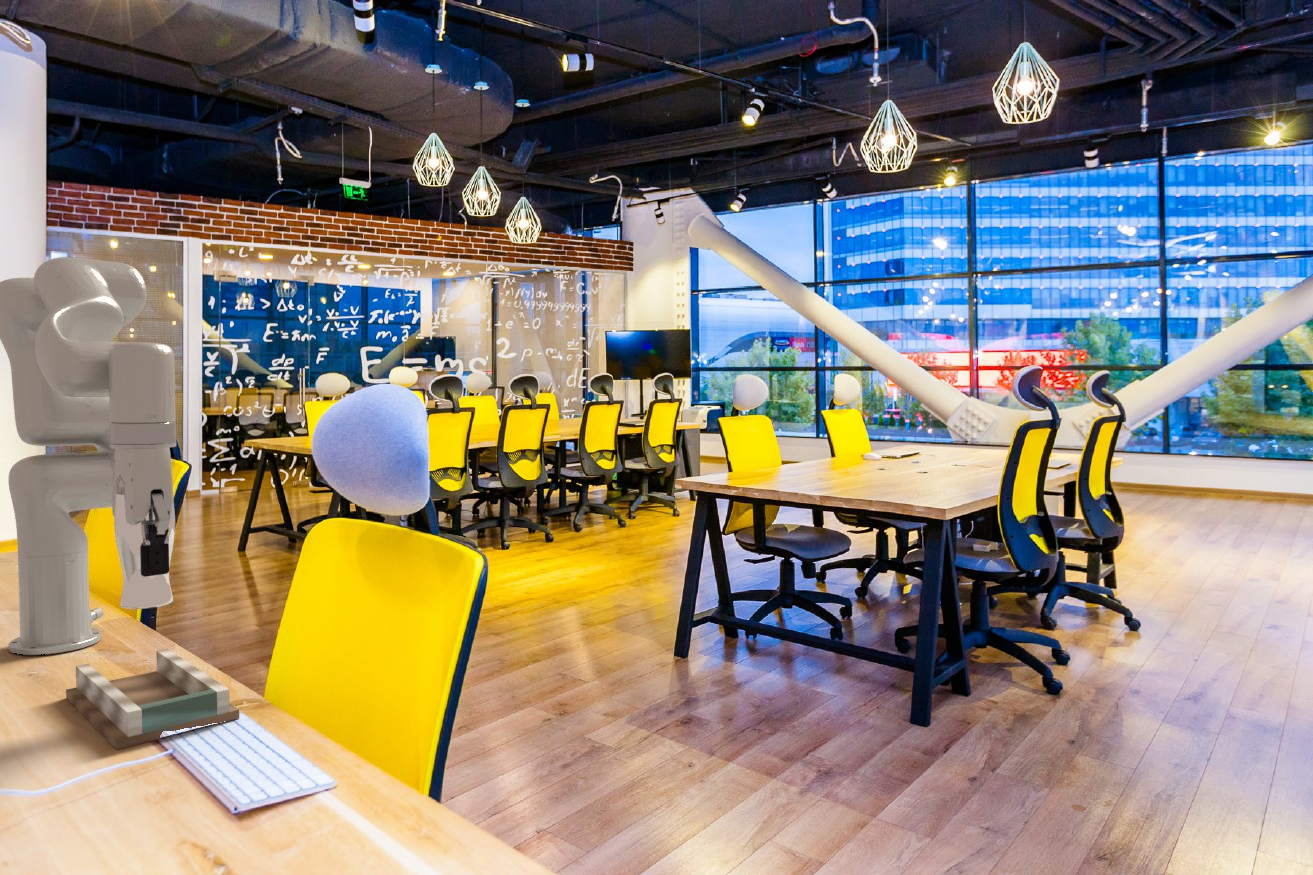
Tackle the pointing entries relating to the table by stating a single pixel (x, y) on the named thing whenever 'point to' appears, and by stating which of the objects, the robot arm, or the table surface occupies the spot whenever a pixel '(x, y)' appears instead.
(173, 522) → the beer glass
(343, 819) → the table surface
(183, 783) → the table surface
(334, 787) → the table surface
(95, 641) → the robot arm
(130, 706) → the track board
